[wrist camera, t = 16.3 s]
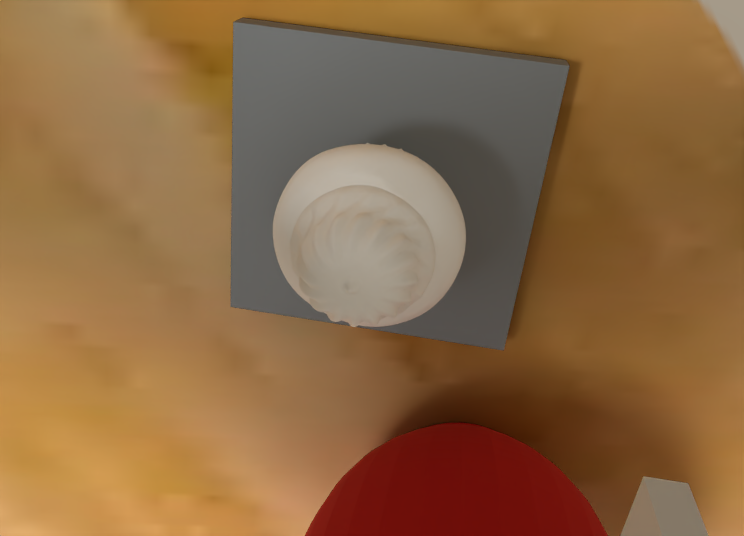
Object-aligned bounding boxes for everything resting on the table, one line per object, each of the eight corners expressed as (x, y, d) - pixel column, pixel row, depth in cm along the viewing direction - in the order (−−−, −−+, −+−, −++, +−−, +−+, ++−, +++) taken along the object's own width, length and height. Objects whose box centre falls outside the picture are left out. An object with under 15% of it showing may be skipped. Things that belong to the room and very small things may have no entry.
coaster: (237, 294, 29) (230, 307, 28) (242, 17, 24) (233, 21, 23) (502, 336, 28) (503, 350, 28) (566, 59, 23) (569, 66, 22)
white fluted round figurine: (264, 168, 25) (195, 253, 19) (408, 78, 23) (384, 141, 17) (358, 299, 27) (323, 414, 21) (499, 228, 25) (506, 332, 19)
